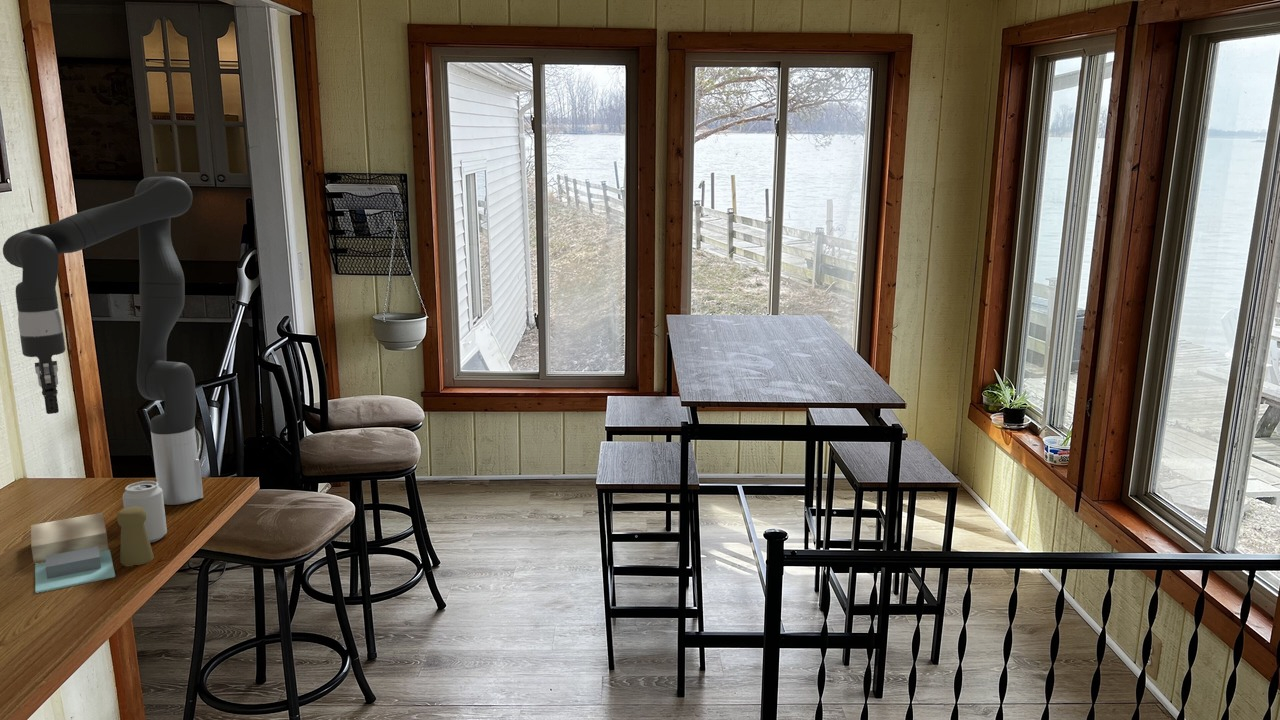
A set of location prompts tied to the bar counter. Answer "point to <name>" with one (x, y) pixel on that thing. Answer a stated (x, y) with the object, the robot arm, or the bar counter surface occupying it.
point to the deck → (68, 536)
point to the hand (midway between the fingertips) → (52, 412)
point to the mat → (74, 575)
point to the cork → (134, 537)
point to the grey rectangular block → (72, 562)
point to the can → (148, 506)
